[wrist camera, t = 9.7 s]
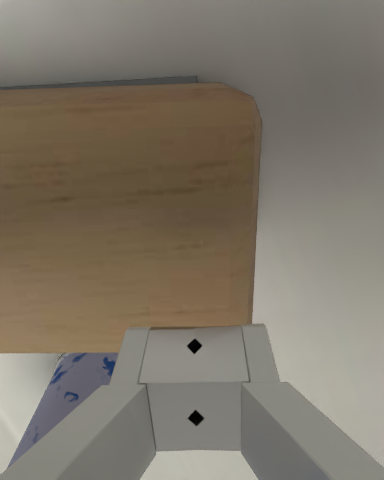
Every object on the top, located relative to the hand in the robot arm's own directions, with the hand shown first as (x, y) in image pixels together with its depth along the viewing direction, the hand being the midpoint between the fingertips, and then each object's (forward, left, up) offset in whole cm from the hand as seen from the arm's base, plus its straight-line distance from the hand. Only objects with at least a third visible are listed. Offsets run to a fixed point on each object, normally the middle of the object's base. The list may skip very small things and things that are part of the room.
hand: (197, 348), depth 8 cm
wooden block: (-2, 0, -10) cm, 10 cm away
